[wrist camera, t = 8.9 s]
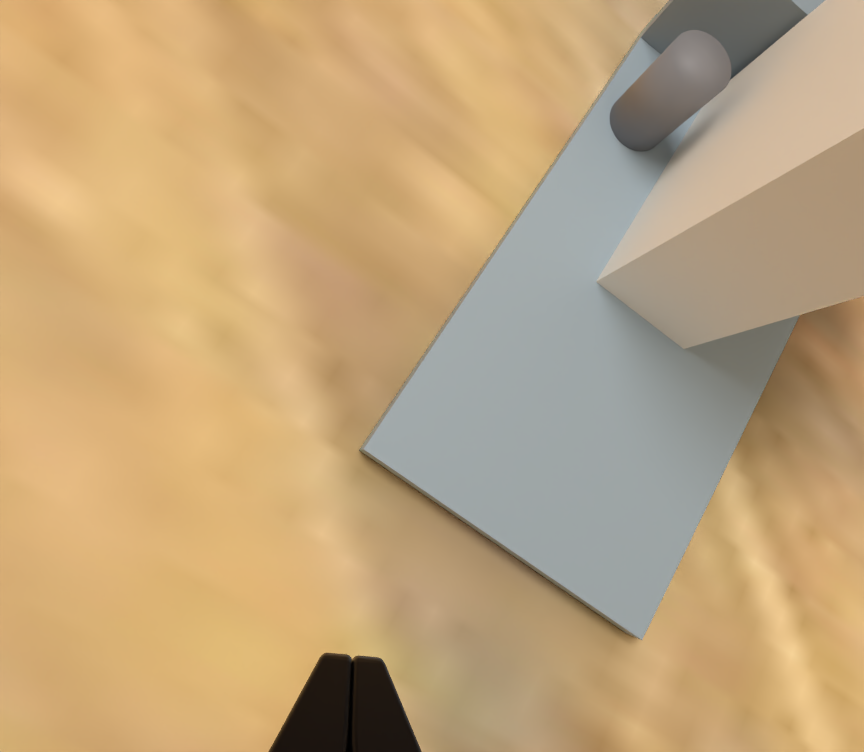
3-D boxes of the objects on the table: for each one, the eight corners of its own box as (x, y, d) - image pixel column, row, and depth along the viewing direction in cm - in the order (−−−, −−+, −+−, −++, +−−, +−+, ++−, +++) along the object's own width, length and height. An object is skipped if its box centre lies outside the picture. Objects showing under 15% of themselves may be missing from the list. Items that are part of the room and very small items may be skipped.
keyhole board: (626, 633, 23) (744, 684, 18) (359, 450, 22) (393, 442, 16) (841, 198, 29) (983, 131, 24) (642, 29, 28) (742, -87, 22)
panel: (683, 348, 25) (1269, 176, 10) (596, 281, 24) (1087, 0, 10) (782, 165, 27) (1358, -176, 13) (705, 100, 27) (1218, -330, 12)
